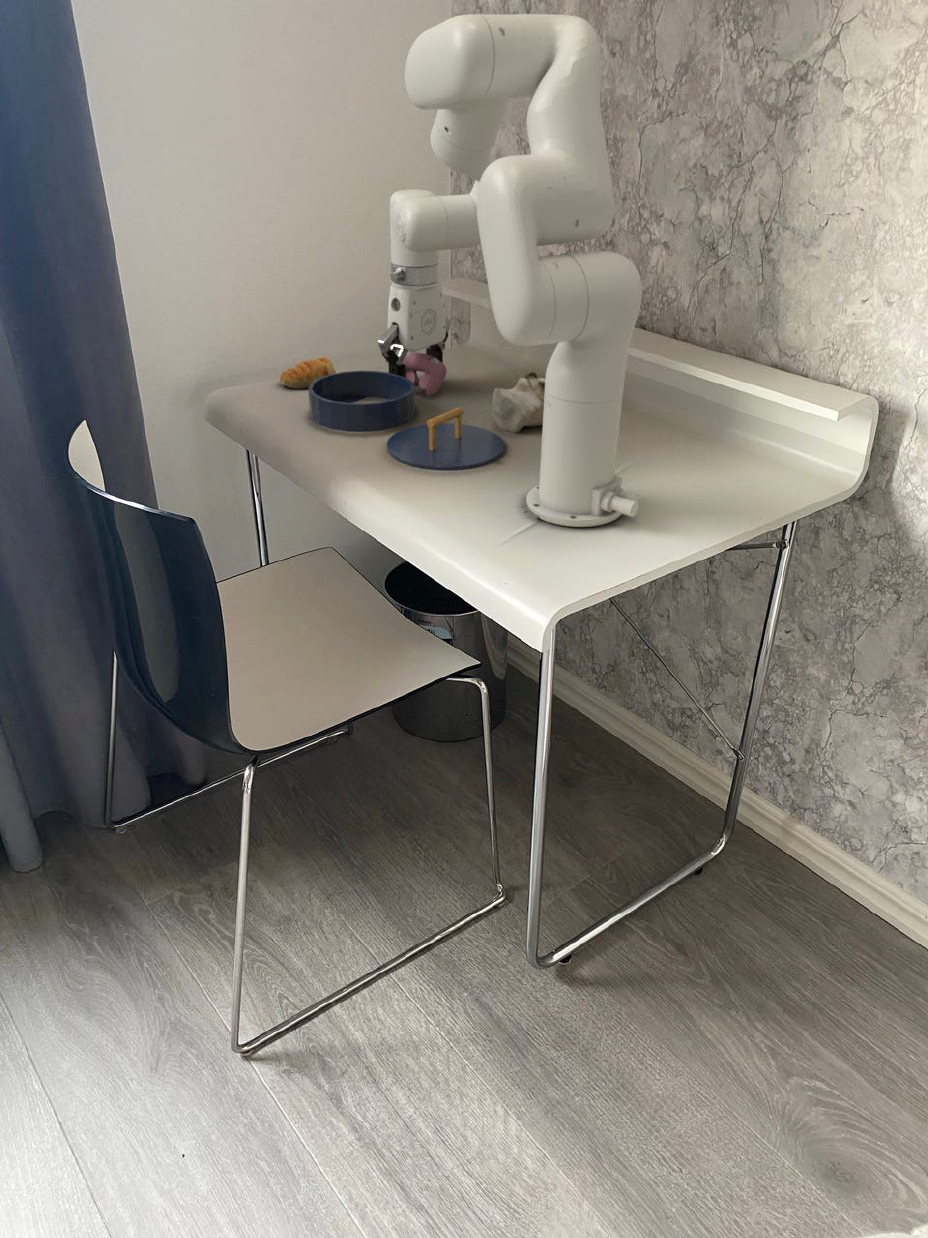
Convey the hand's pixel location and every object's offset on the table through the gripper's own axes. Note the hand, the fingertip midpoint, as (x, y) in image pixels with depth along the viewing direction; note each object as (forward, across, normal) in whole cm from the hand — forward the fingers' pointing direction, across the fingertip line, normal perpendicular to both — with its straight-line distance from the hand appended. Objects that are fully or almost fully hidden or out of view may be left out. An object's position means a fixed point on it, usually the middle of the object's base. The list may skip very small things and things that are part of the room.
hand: (416, 379), depth 168 cm
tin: (+2, -16, -2) cm, 16 cm away
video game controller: (+2, 0, 0) cm, 2 cm away
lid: (+1, -18, -21) cm, 28 cm away
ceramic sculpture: (+2, -2, -25) cm, 25 cm away
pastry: (+2, -9, +16) cm, 19 cm away
